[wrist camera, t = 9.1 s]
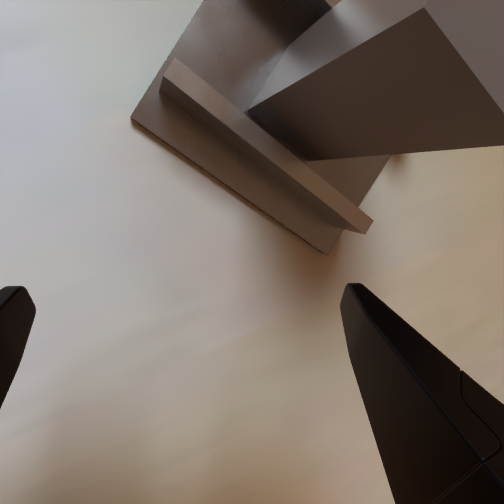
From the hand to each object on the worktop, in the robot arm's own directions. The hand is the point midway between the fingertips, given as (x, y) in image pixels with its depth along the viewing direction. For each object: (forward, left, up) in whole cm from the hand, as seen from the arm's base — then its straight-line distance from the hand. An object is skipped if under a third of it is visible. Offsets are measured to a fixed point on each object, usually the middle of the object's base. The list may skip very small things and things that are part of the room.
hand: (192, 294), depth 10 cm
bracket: (+10, -5, -11) cm, 16 cm away
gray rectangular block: (+10, -5, -11) cm, 16 cm away
